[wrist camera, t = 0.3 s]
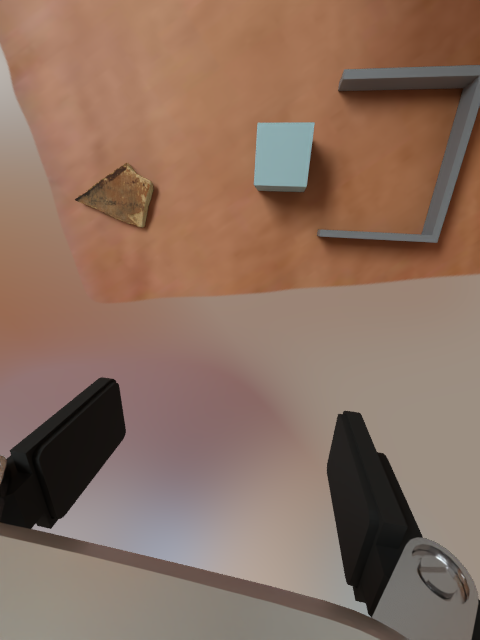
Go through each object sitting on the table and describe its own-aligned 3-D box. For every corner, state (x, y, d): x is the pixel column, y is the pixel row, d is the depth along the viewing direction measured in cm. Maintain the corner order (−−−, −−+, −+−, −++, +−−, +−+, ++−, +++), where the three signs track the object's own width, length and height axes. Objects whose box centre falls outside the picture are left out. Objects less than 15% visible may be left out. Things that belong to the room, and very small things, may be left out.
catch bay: (339, 82, 29) (344, 69, 26) (474, 78, 27) (492, 64, 25) (316, 235, 35) (319, 236, 32) (426, 241, 33) (437, 242, 30)
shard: (82, 201, 39) (72, 199, 37) (89, 146, 36) (79, 142, 34) (146, 229, 39) (139, 229, 37) (158, 176, 36) (152, 174, 34)
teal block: (261, 137, 32) (257, 122, 27) (310, 138, 31) (314, 122, 26) (258, 190, 34) (254, 185, 29) (303, 192, 33) (306, 186, 29)
